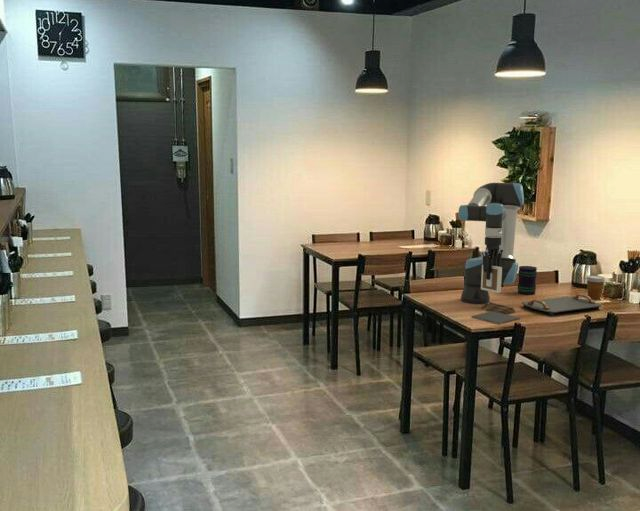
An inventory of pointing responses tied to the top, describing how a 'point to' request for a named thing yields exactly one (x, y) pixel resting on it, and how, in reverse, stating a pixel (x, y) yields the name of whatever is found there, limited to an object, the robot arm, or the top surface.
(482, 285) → the white picture frame
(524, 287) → the storage jar
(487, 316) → the rubber mat
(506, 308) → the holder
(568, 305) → the serving board
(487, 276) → the robot arm
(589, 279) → the disposable coffee cup
